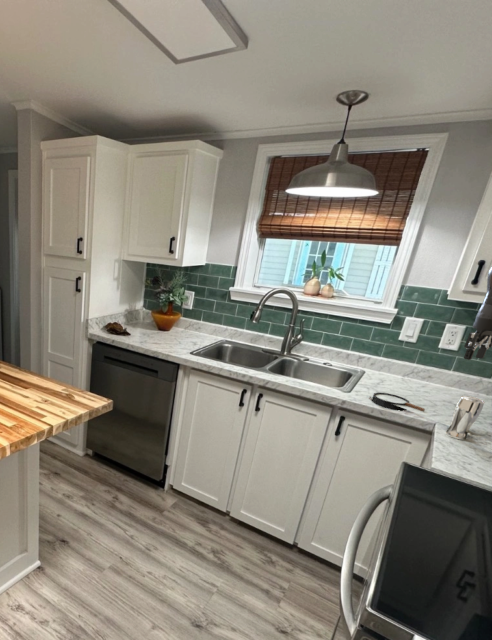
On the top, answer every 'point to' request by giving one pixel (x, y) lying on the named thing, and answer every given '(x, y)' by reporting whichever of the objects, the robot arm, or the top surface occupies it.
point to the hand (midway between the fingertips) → (473, 358)
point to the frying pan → (391, 405)
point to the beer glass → (464, 416)
